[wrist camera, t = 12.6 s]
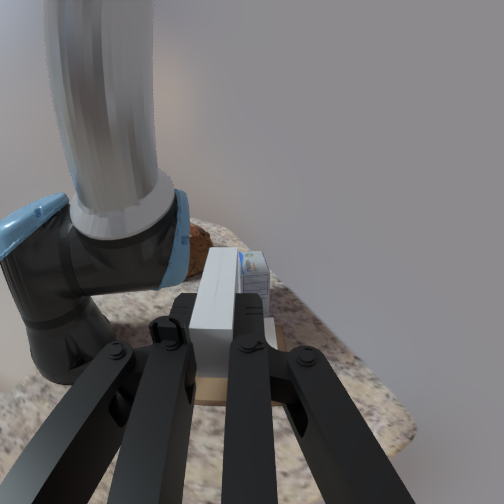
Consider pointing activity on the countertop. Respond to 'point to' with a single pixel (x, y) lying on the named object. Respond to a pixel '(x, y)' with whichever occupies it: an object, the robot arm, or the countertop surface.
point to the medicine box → (254, 276)
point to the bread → (198, 249)
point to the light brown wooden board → (225, 382)
